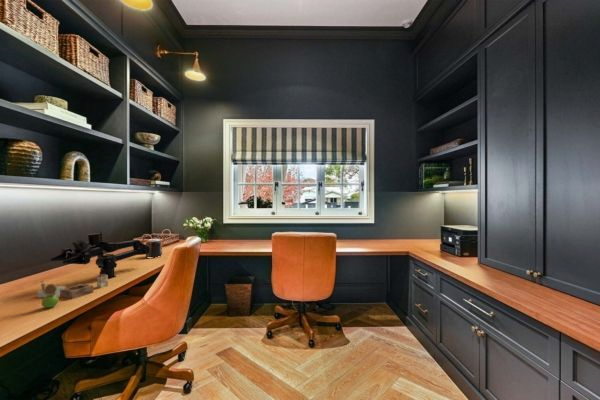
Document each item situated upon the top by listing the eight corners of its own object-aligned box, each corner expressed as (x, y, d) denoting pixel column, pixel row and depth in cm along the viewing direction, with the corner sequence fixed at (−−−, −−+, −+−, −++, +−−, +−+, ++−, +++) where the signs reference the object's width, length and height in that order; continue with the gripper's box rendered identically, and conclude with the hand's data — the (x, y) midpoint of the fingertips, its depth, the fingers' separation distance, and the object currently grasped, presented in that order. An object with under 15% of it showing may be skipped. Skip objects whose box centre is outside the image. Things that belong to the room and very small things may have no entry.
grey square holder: (81, 290, 131) (81, 283, 131) (93, 292, 128) (93, 285, 128) (59, 296, 122) (60, 289, 122) (72, 299, 119) (72, 291, 119)
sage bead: (51, 292, 128) (51, 286, 128) (65, 291, 128) (65, 286, 128) (37, 297, 121) (37, 291, 121) (52, 297, 121) (52, 291, 121)
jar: (153, 259, 201) (153, 240, 201) (142, 258, 204) (142, 240, 204) (165, 256, 212) (165, 238, 212) (154, 255, 216) (154, 238, 216)
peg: (103, 285, 138) (103, 273, 138) (107, 285, 137) (107, 274, 137) (96, 287, 135) (96, 275, 135) (101, 288, 134) (101, 276, 134)
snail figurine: (47, 305, 112) (47, 278, 112) (62, 304, 112) (62, 278, 113) (35, 310, 107) (35, 282, 107) (51, 309, 107) (51, 282, 107)
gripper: (78, 236, 144) (43, 243, 129) (101, 240, 139) (68, 248, 124) (78, 254, 146) (45, 263, 131) (101, 259, 140) (69, 269, 125)
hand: (56, 261), depth 128 cm, fingers open, 9 cm apart
